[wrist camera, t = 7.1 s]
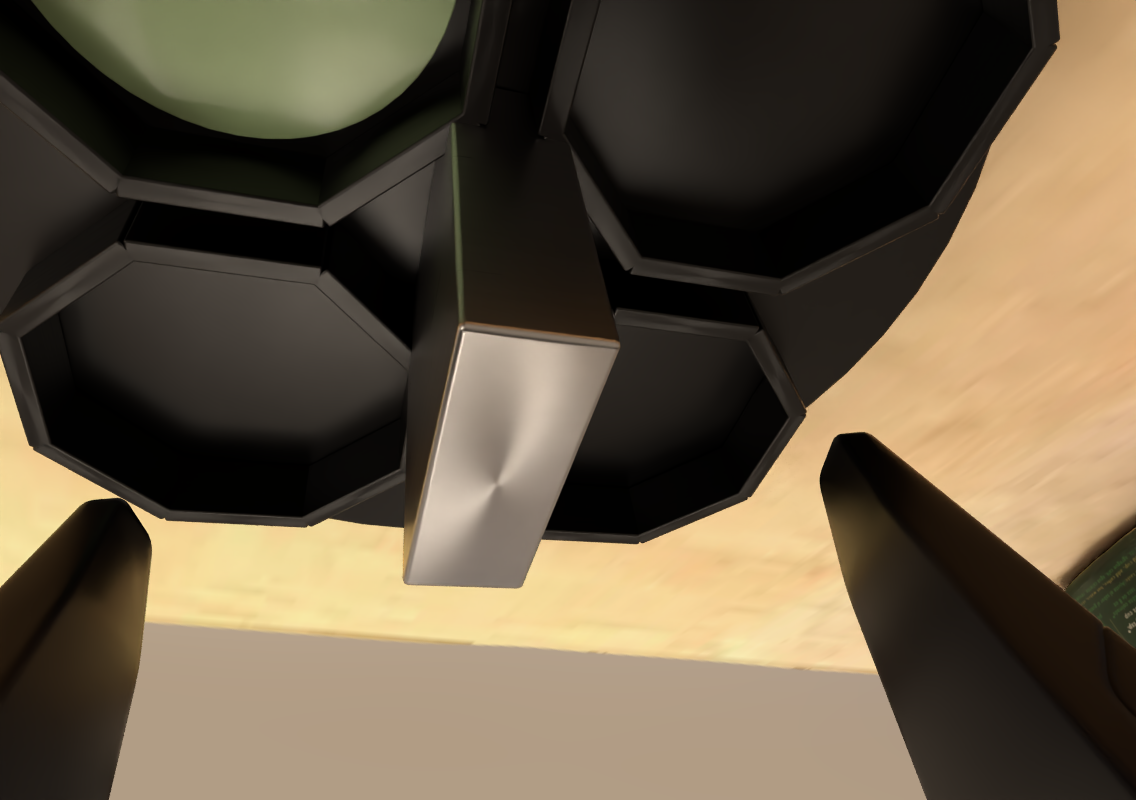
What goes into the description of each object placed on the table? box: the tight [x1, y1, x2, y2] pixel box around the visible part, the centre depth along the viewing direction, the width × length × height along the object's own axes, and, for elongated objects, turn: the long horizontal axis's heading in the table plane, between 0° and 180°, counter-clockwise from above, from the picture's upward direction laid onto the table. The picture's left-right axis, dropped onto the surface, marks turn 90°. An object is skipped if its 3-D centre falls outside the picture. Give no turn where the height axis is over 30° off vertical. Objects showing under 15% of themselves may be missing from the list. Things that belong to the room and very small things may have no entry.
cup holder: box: [0, 0, 1060, 588], centre depth 12 cm, size 19×19×7 cm
